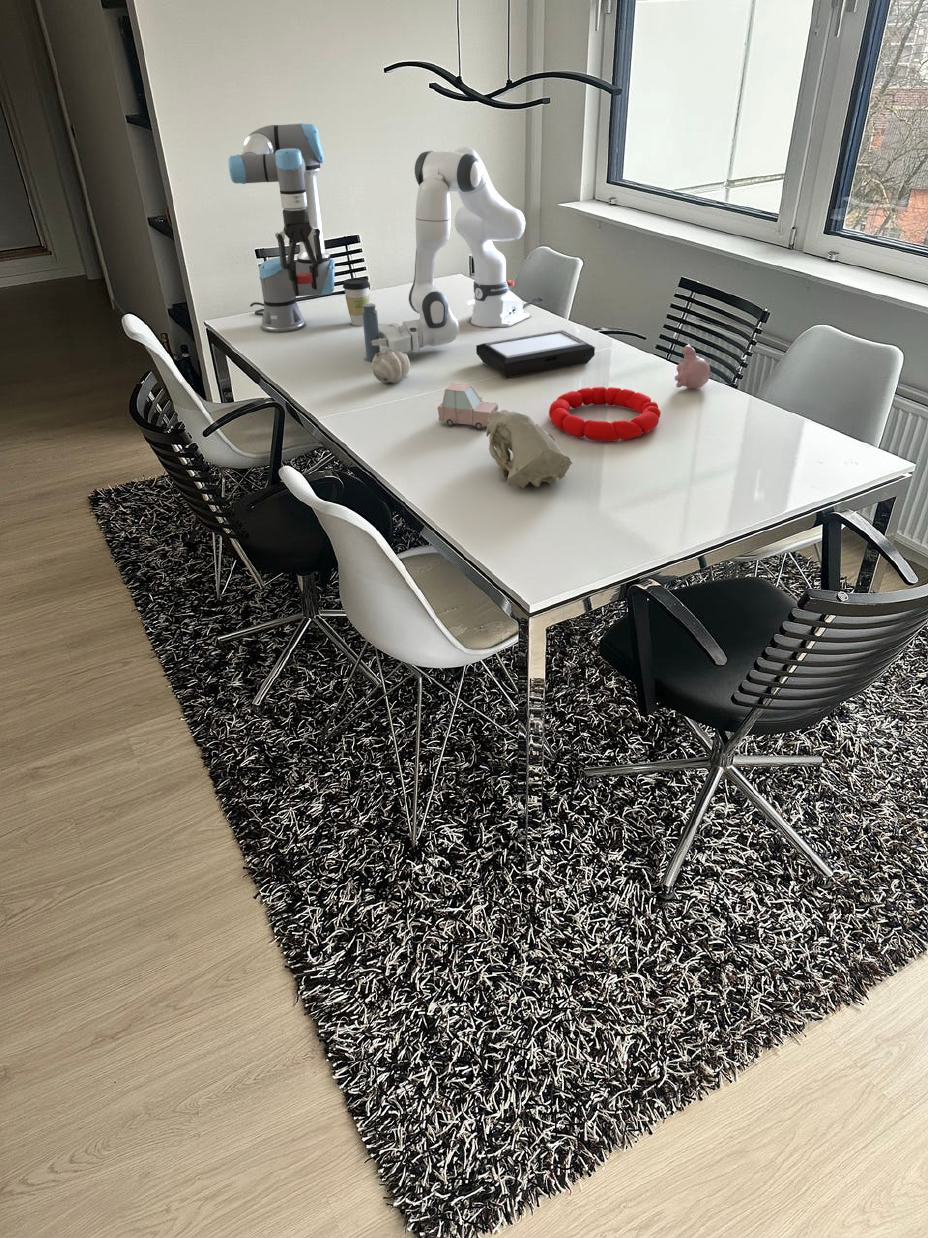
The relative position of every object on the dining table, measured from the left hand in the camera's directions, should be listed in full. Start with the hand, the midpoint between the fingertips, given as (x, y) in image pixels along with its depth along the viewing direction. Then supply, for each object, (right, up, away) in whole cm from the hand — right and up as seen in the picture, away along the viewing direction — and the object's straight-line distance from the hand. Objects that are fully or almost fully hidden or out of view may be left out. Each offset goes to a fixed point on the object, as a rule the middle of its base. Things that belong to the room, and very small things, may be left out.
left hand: (305, 289), depth 274 cm
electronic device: (+72, -20, +11) cm, 75 cm away
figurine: (+116, -34, -12) cm, 121 cm away
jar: (+19, -16, +19) cm, 31 cm away
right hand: (+18, -11, +15) cm, 26 cm away
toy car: (+50, -48, -29) cm, 75 cm away
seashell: (+27, -29, 0) cm, 39 cm away
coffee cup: (+11, +7, +53) cm, 54 cm away
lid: (0, +3, -2) cm, 4 cm away
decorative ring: (+87, -48, -31) cm, 104 cm away
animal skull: (+63, -65, -54) cm, 105 cm away
